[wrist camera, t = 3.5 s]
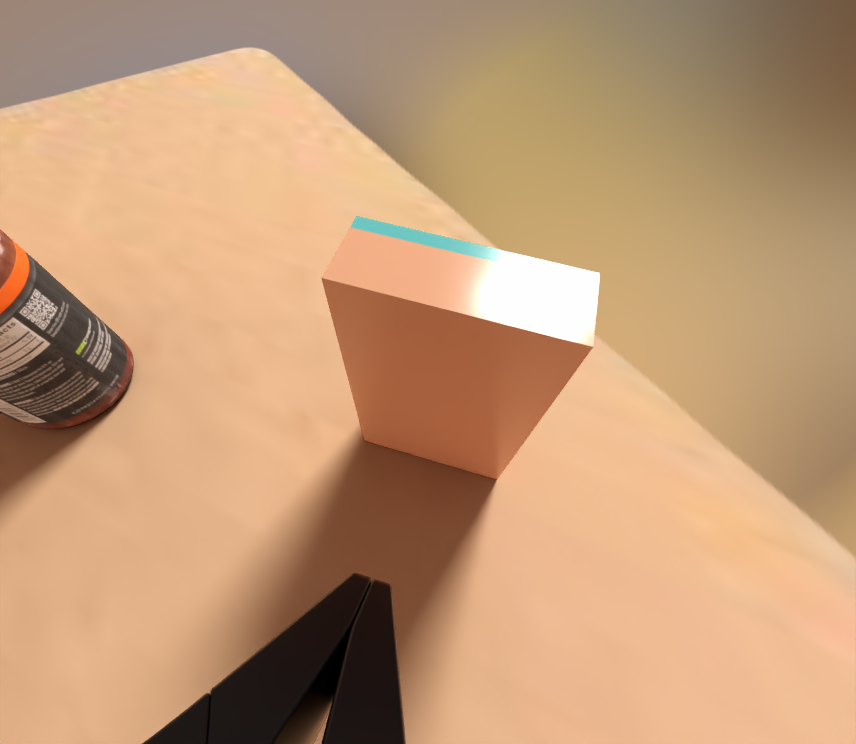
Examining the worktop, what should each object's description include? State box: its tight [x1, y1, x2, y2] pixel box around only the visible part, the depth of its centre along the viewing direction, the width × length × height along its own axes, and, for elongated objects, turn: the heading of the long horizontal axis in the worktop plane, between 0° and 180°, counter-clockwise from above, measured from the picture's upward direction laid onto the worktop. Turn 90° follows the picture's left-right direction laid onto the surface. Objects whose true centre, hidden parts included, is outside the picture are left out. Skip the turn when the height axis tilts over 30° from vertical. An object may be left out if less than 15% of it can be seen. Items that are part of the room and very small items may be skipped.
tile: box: [322, 216, 600, 480], centre depth 16 cm, size 2×7×12 cm, turn 74°
